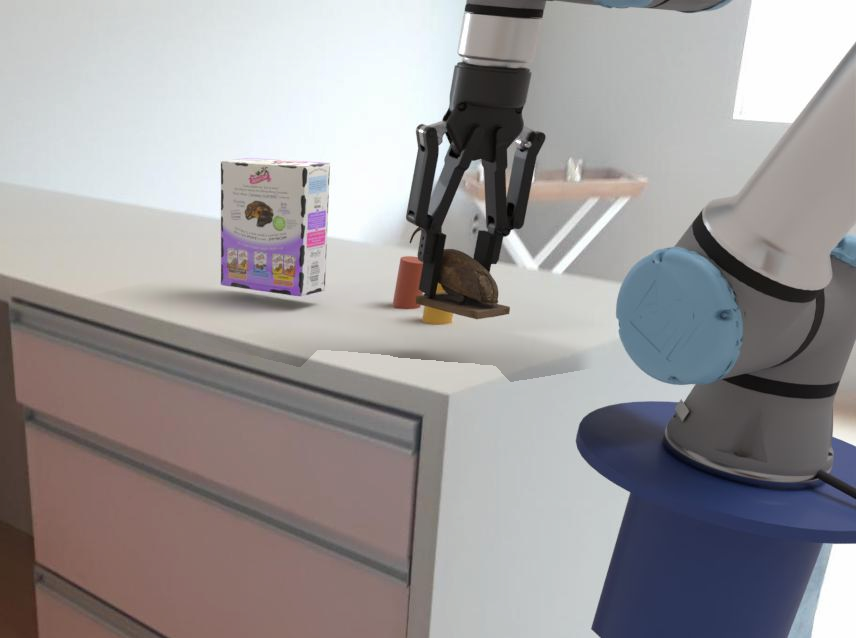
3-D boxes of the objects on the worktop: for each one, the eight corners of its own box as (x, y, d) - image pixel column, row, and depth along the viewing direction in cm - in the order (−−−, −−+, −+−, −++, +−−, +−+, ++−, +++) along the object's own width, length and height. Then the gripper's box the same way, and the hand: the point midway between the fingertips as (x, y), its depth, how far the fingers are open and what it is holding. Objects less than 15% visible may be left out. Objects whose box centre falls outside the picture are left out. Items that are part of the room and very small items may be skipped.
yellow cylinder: (453, 338, 143) (464, 282, 139) (427, 338, 142) (437, 282, 139) (441, 329, 146) (451, 274, 143) (415, 329, 145) (425, 274, 142)
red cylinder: (423, 316, 150) (433, 263, 147) (398, 316, 150) (407, 263, 146) (412, 308, 153) (421, 256, 150) (387, 308, 153) (396, 255, 150)
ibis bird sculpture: (390, 297, 130) (395, 218, 127) (421, 293, 132) (426, 215, 129) (477, 319, 119) (485, 233, 115) (510, 314, 121) (518, 230, 117)
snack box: (327, 291, 152) (332, 161, 146) (300, 298, 148) (305, 165, 142) (245, 278, 161) (247, 155, 154) (218, 285, 157) (219, 159, 150)
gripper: (556, 64, 120) (510, 284, 130) (394, 54, 116) (360, 283, 126) (595, 71, 113) (544, 303, 124) (426, 61, 109) (387, 302, 119)
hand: (451, 292), depth 125 cm, fingers closed on ibis bird sculpture, 5 cm apart
